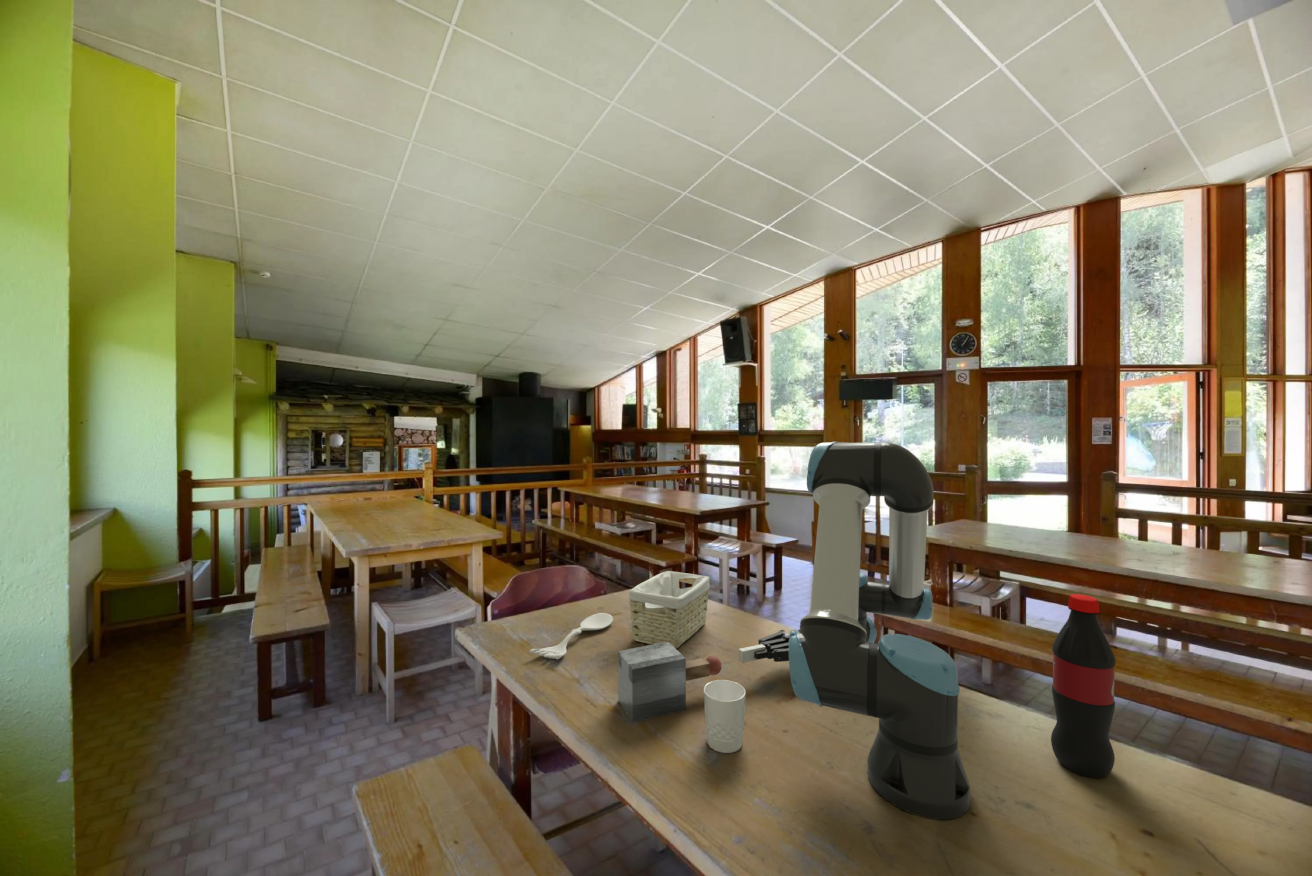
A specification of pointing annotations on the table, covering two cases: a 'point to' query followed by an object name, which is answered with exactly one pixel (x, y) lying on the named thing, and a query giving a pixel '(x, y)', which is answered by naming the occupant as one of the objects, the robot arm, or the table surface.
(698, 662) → the plunger
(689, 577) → the storage basket
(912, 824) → the table surface
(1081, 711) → the cola bottle
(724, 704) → the white cup
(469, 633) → the table surface
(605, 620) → the white plastic spork
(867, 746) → the table surface
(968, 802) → the robot arm
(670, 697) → the block
